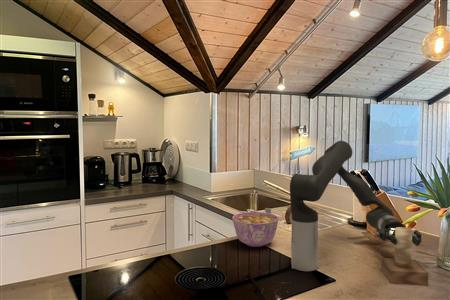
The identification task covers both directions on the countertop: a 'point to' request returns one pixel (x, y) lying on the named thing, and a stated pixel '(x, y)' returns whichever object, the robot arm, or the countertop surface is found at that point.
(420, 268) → the walnut base
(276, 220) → the bowl of food
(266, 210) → the flask
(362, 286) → the countertop surface
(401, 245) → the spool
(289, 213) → the tin
